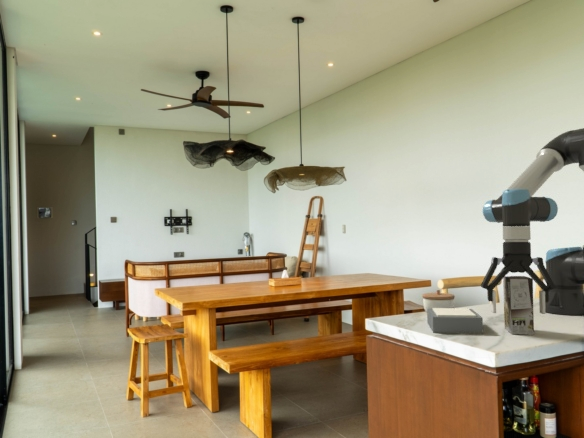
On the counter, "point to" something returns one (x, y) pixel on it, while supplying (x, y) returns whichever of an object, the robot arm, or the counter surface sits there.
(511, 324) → the coffee box
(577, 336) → the counter surface
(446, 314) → the dock
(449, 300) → the lidded jar
